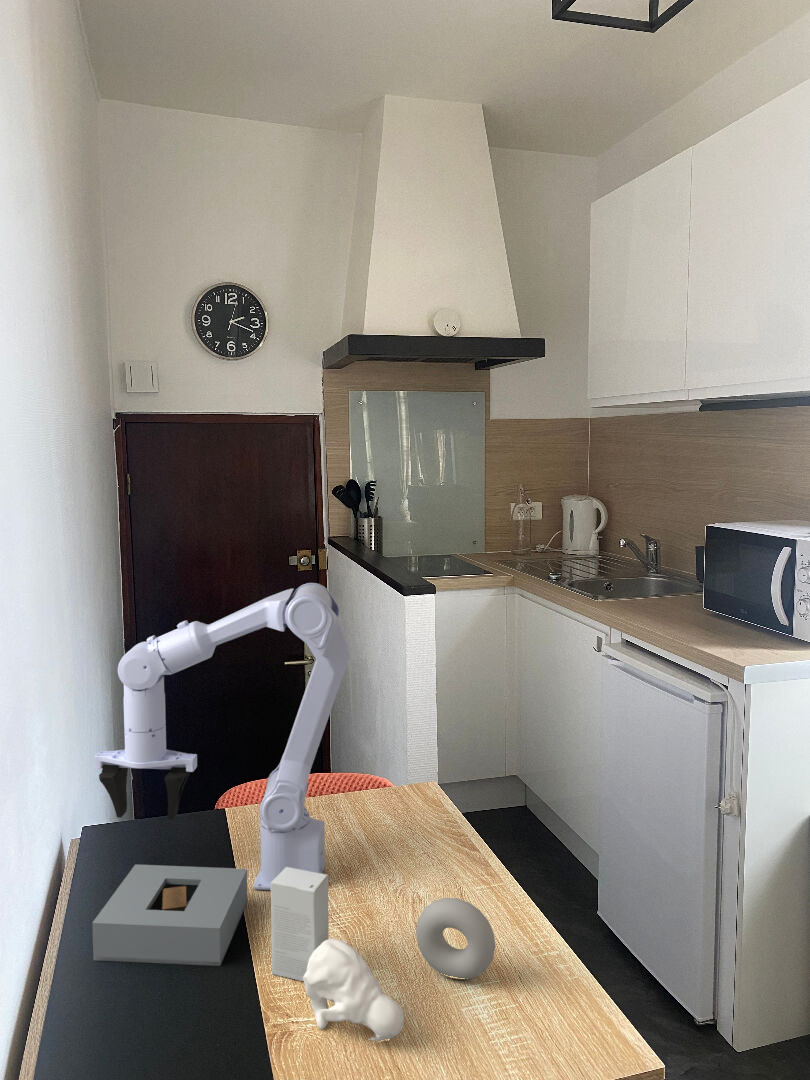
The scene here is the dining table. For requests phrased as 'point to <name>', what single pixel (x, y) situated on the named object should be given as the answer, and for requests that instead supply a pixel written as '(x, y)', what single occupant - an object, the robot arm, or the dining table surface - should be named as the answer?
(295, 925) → the skincare box
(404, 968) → the dining table surface
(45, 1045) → the dining table surface
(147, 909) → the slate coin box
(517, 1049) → the dining table surface
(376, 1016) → the white animal sculpture
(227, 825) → the dining table surface
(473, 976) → the donut
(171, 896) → the brown wooden block
